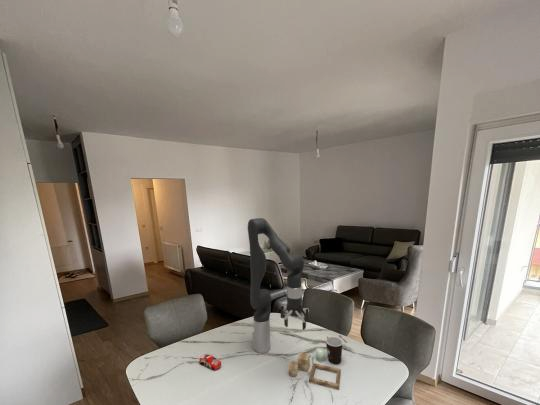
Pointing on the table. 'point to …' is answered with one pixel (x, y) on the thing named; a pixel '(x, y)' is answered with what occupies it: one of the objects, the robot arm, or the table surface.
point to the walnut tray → (323, 382)
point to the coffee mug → (334, 349)
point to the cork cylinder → (292, 369)
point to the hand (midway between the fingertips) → (295, 327)
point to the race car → (210, 362)
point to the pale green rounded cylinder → (320, 354)
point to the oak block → (303, 362)
